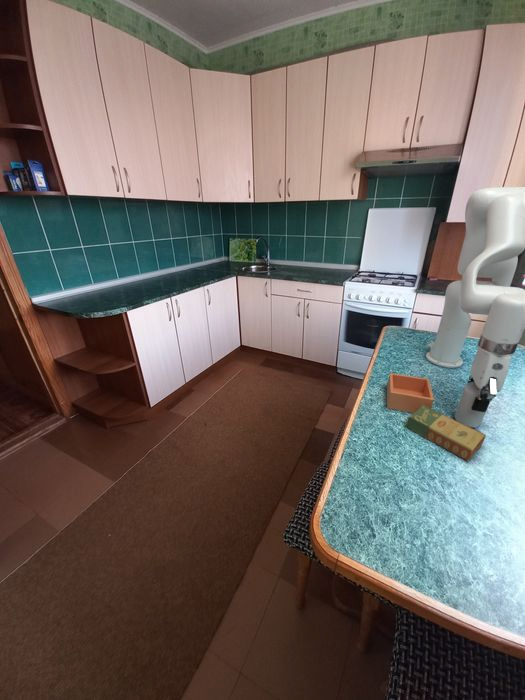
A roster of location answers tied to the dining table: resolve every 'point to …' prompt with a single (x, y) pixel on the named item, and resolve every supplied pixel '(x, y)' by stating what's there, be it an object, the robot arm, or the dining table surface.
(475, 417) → the beverage can
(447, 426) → the carton
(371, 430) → the dining table surface
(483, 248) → the robot arm
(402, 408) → the bin
